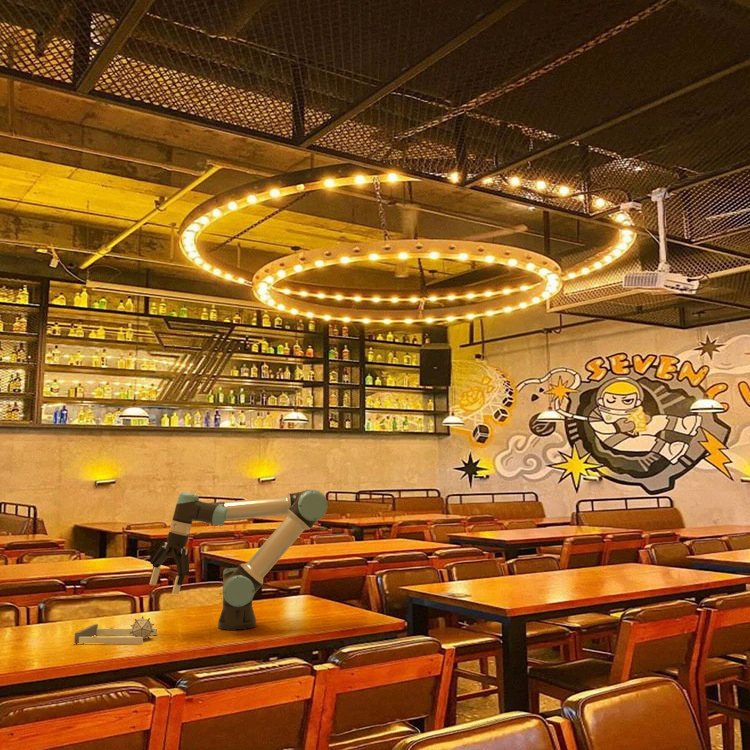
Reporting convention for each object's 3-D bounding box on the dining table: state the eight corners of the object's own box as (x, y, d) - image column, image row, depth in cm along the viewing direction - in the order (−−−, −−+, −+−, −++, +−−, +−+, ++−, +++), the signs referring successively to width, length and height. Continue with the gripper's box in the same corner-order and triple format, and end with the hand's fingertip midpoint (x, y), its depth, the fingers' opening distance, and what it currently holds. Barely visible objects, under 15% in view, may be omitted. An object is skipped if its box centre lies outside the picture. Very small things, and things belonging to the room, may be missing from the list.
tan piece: (157, 635, 282) (157, 624, 283) (141, 644, 266) (142, 633, 267) (92, 635, 283) (93, 624, 284) (73, 644, 267) (74, 633, 268)
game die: (137, 651, 272) (123, 631, 269) (139, 638, 280) (124, 618, 277) (159, 638, 273) (145, 618, 270) (160, 626, 281) (146, 606, 278)
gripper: (151, 525, 289) (135, 580, 285) (192, 538, 274) (177, 596, 270) (166, 527, 295) (151, 581, 291) (207, 540, 280) (192, 597, 276)
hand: (163, 589), depth 280 cm, fingers open, 13 cm apart
